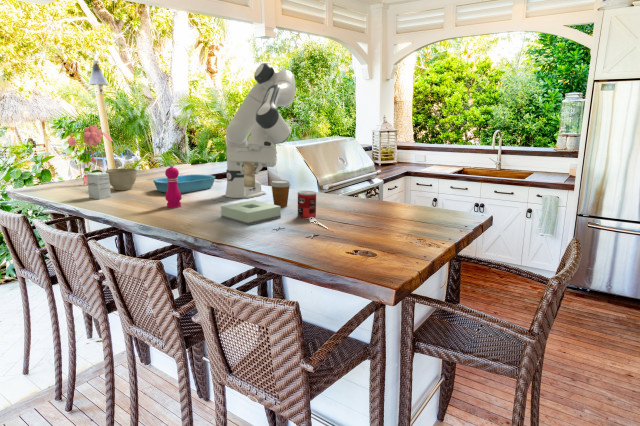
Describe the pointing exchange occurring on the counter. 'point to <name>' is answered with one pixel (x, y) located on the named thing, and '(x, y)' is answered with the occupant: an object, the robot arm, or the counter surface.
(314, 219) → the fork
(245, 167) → the birch peg
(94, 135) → the red flower plant
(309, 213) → the canned food
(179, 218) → the counter surface
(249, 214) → the socket block
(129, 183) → the planter bowl
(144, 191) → the counter surface
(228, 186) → the robot arm
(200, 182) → the casserole dish
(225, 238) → the counter surface
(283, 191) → the disposable coffee cup
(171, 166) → the pepper mill
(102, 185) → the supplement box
